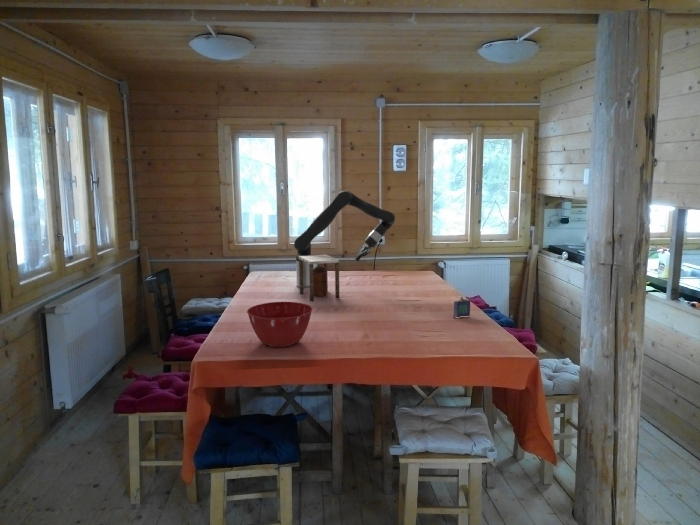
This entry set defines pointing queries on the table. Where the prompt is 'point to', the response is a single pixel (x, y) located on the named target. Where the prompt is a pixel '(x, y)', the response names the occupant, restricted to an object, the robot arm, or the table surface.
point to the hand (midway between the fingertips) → (356, 260)
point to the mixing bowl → (280, 322)
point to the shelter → (312, 260)
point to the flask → (462, 307)
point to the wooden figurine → (320, 281)
